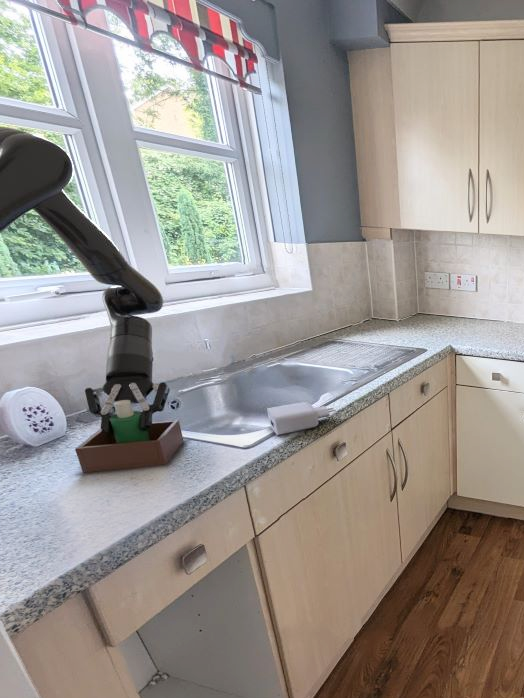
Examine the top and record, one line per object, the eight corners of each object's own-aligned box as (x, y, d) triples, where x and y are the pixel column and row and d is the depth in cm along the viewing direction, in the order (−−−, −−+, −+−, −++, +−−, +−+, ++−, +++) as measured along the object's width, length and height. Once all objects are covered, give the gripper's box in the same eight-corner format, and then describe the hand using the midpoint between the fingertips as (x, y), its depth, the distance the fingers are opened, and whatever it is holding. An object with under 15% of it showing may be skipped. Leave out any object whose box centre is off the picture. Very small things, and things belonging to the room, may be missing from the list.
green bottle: (115, 456, 94) (99, 407, 90) (126, 446, 98) (112, 398, 94) (145, 453, 95) (132, 405, 92) (155, 443, 100) (142, 396, 96)
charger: (341, 423, 118) (277, 436, 109) (330, 412, 125) (269, 424, 116) (339, 406, 117) (274, 418, 107) (328, 396, 123) (266, 406, 114)
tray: (82, 472, 90) (74, 449, 88) (110, 447, 100) (103, 425, 98) (165, 464, 94) (159, 441, 93) (183, 441, 105) (178, 420, 103)
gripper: (78, 354, 93) (71, 429, 87) (164, 349, 99) (163, 420, 93) (96, 371, 100) (90, 443, 94) (176, 366, 106) (175, 433, 100)
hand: (126, 431), depth 94 cm, fingers closed on green bottle, 5 cm apart
